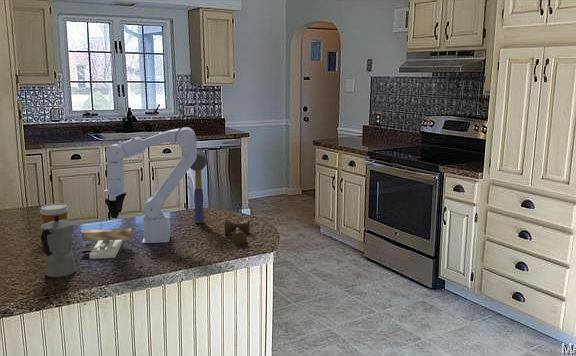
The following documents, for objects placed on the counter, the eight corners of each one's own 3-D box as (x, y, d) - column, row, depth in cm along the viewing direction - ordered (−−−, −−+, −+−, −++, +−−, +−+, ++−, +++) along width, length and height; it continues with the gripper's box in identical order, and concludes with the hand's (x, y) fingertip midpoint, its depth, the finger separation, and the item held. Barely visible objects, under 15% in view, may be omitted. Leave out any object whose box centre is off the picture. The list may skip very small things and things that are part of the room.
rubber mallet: (207, 226, 195) (206, 153, 190) (189, 227, 195) (186, 153, 189) (208, 218, 208) (207, 148, 202) (191, 218, 207) (189, 148, 201)
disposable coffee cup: (55, 232, 186) (52, 202, 184) (76, 235, 183) (73, 204, 181) (36, 240, 177) (33, 208, 175) (58, 243, 174) (55, 210, 172)
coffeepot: (56, 263, 156) (51, 209, 152) (85, 263, 155) (81, 209, 152) (30, 283, 140) (24, 223, 137) (62, 283, 140) (57, 223, 137)
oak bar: (132, 236, 170) (131, 228, 169) (130, 239, 167) (130, 231, 167) (84, 238, 167) (83, 230, 167) (81, 241, 165) (81, 232, 164)
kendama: (226, 247, 174) (223, 229, 193) (252, 246, 176) (247, 228, 195) (226, 231, 173) (223, 214, 192) (253, 231, 174) (248, 214, 193)
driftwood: (93, 253, 166) (93, 247, 166) (72, 254, 165) (72, 248, 164) (104, 235, 186) (104, 230, 186) (86, 236, 185) (85, 231, 184)
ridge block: (123, 241, 176) (122, 231, 176) (115, 257, 161) (114, 246, 160) (100, 242, 175) (99, 232, 174) (89, 258, 160) (88, 247, 159)
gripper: (108, 174, 179) (108, 209, 181) (99, 182, 165) (100, 220, 167) (127, 174, 180) (128, 209, 183) (121, 182, 166) (121, 220, 169)
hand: (116, 215), depth 175 cm, fingers open, 7 cm apart
